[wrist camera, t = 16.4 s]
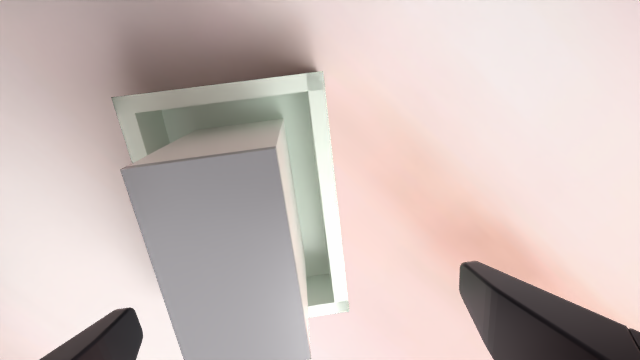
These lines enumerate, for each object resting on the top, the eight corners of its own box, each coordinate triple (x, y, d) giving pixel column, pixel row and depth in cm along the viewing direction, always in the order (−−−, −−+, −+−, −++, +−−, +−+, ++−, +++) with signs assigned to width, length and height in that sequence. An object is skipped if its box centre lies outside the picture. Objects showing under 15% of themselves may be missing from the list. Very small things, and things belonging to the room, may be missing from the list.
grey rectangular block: (283, 118, 18) (275, 148, 10) (305, 256, 21) (311, 359, 13) (194, 130, 18) (120, 169, 10) (228, 267, 21) (190, 378, 13)
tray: (317, 72, 18) (323, 70, 15) (341, 276, 22) (349, 311, 19) (145, 93, 18) (111, 97, 14) (203, 296, 22) (187, 336, 18)
